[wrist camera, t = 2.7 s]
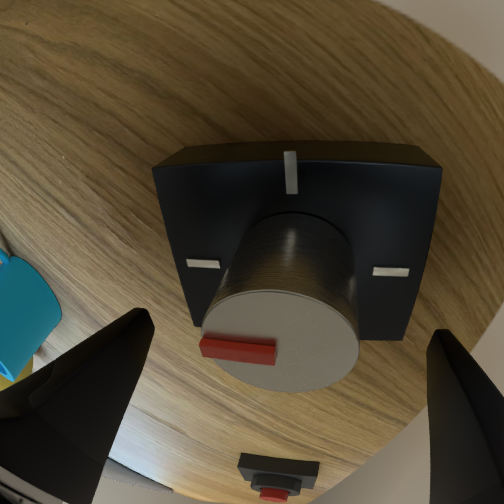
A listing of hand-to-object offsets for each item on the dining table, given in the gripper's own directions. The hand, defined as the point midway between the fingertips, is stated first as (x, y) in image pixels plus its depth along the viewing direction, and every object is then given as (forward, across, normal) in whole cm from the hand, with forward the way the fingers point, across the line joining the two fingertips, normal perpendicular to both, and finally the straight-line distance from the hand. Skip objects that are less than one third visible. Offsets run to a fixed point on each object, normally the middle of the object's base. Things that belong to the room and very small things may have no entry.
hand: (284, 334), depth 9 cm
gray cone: (+6, +48, +89) cm, 101 cm away
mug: (+6, +25, +5) cm, 26 cm away
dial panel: (+6, 0, 0) cm, 6 cm away
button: (+3, +2, +36) cm, 36 cm away
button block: (+6, +2, +36) cm, 37 cm away
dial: (+3, 0, 0) cm, 3 cm away
